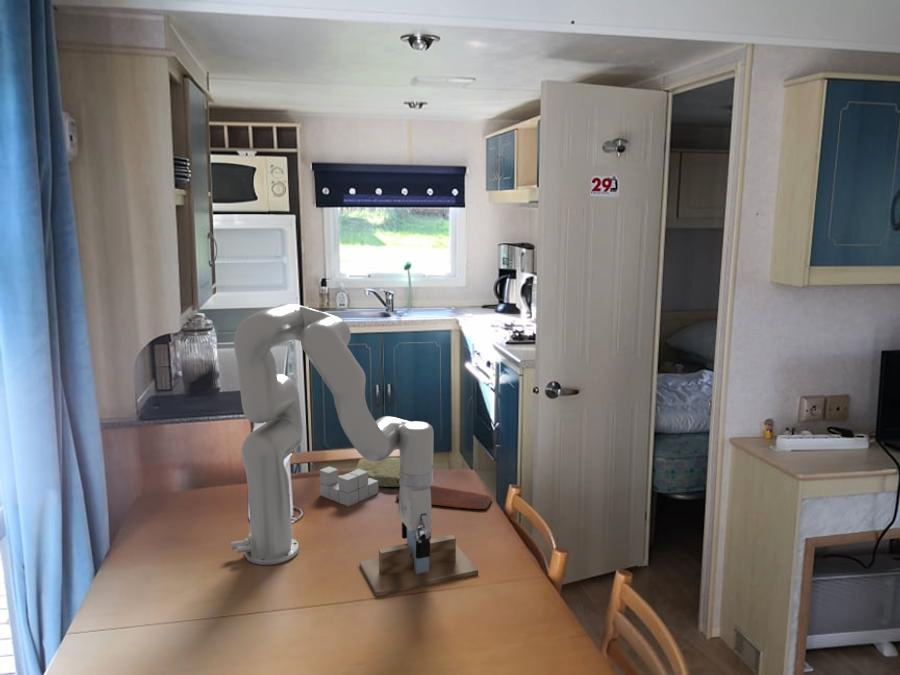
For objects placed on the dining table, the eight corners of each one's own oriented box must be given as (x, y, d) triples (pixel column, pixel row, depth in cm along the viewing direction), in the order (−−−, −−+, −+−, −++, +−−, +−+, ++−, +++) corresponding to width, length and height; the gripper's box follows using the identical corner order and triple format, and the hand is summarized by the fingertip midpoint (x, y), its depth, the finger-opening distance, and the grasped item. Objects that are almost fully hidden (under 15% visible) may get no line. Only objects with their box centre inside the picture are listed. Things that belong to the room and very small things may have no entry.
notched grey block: (429, 571, 155) (428, 538, 153) (416, 573, 154) (416, 541, 152) (419, 557, 161) (418, 526, 159) (407, 560, 160) (406, 528, 158)
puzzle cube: (378, 493, 200) (378, 467, 198) (348, 507, 191) (347, 480, 189) (350, 483, 207) (350, 458, 206) (320, 495, 198) (319, 469, 197)
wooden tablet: (394, 502, 193) (393, 496, 193) (406, 486, 203) (405, 481, 202) (485, 513, 186) (485, 508, 185) (493, 496, 195) (493, 491, 195)
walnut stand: (376, 596, 146) (375, 568, 145) (359, 565, 159) (358, 539, 158) (478, 573, 155) (478, 547, 154) (454, 546, 168) (454, 521, 167)
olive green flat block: (358, 454, 219) (419, 447, 219) (361, 472, 221) (422, 465, 220) (348, 477, 201) (415, 470, 200) (351, 496, 202) (418, 489, 201)
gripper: (388, 465, 159) (388, 532, 163) (413, 494, 144) (412, 568, 147) (419, 461, 162) (418, 527, 166) (446, 489, 147) (444, 562, 150)
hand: (415, 546), depth 156 cm, fingers open, 9 cm apart
